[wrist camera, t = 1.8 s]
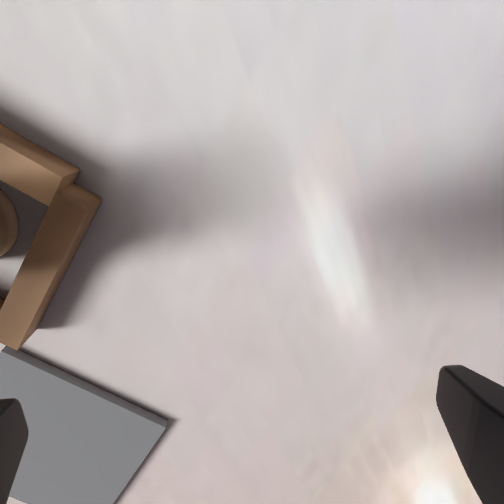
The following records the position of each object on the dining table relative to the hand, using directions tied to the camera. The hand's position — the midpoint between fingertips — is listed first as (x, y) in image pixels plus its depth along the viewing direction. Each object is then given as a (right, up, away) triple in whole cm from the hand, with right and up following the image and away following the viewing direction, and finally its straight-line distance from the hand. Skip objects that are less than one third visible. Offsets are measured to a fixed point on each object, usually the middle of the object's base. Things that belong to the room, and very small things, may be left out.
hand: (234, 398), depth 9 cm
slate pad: (-11, -8, +17) cm, 22 cm away
